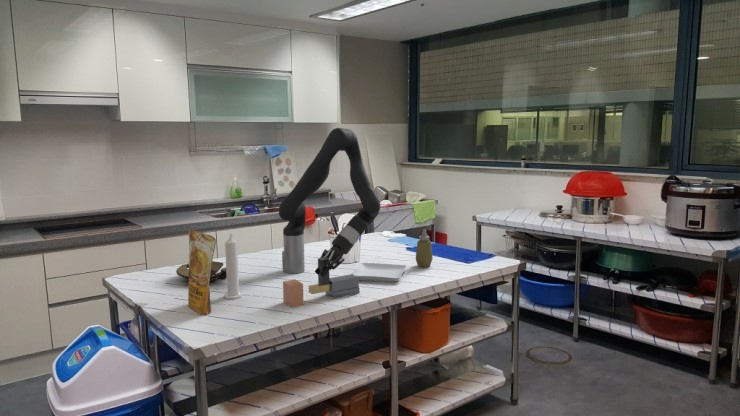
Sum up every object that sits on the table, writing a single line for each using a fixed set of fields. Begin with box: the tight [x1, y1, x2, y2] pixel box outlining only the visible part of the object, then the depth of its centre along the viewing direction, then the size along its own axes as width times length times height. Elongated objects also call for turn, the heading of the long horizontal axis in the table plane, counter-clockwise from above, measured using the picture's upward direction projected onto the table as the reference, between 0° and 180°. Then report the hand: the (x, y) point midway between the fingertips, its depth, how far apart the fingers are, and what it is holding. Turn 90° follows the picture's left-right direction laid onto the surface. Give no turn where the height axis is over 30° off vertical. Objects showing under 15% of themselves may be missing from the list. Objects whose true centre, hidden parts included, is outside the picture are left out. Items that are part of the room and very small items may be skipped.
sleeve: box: [325, 273, 361, 299], centre depth 209 cm, size 12×6×6 cm, turn 122°
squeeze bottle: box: [415, 228, 433, 268], centre depth 249 cm, size 8×8×18 cm
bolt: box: [308, 257, 331, 295], centre depth 206 cm, size 20×3×13 cm, turn 122°
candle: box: [223, 233, 244, 300], centre depth 205 cm, size 7×7×25 cm
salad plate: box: [352, 262, 407, 283], centre depth 234 cm, size 21×21×3 cm
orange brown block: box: [282, 278, 305, 308], centre depth 198 cm, size 5×7×8 cm
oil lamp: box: [175, 260, 227, 282], centre depth 228 cm, size 22×30×8 cm
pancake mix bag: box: [187, 229, 217, 315], centre depth 191 cm, size 7×19×28 cm, turn 39°
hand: (318, 274), depth 202 cm, fingers closed on bolt, 3 cm apart
